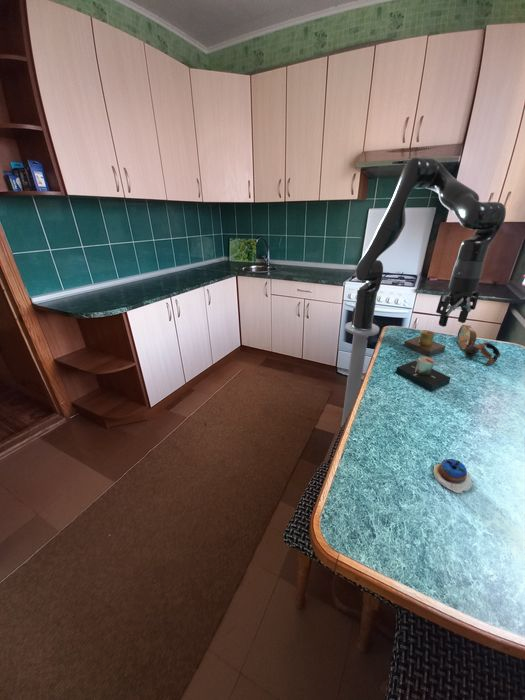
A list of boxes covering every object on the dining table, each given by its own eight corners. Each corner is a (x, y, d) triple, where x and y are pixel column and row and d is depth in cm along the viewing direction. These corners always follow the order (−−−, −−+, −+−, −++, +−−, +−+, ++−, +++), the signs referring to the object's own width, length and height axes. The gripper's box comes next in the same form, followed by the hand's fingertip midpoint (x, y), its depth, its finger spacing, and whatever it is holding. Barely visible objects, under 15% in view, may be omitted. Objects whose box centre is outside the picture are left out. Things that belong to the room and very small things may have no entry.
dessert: (439, 455, 71) (460, 449, 66) (460, 479, 69) (483, 475, 64) (424, 474, 67) (446, 470, 62) (446, 501, 65) (469, 498, 60)
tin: (455, 338, 133) (460, 321, 129) (463, 339, 132) (469, 322, 128) (463, 353, 120) (470, 334, 117) (472, 354, 119) (479, 335, 116)
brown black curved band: (478, 353, 121) (495, 341, 114) (488, 372, 115) (507, 361, 109) (454, 348, 118) (470, 336, 112) (463, 367, 113) (480, 355, 106)
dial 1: (415, 342, 125) (418, 330, 122) (423, 339, 127) (426, 328, 124) (426, 346, 121) (429, 335, 118) (434, 344, 123) (437, 332, 120)
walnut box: (403, 345, 128) (405, 340, 126) (418, 341, 132) (420, 335, 131) (428, 356, 118) (430, 351, 117) (444, 351, 122) (445, 345, 121)
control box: (395, 372, 107) (396, 366, 106) (413, 366, 112) (415, 360, 110) (430, 391, 96) (432, 385, 95) (449, 383, 100) (451, 377, 99)
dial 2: (412, 370, 104) (415, 357, 101) (421, 367, 106) (424, 354, 103) (424, 377, 100) (428, 363, 97) (434, 373, 102) (437, 360, 100)
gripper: (471, 270, 94) (457, 317, 102) (438, 274, 90) (426, 323, 97) (494, 275, 88) (478, 324, 95) (460, 279, 84) (445, 331, 91)
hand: (451, 324), depth 96 cm, fingers open, 8 cm apart
